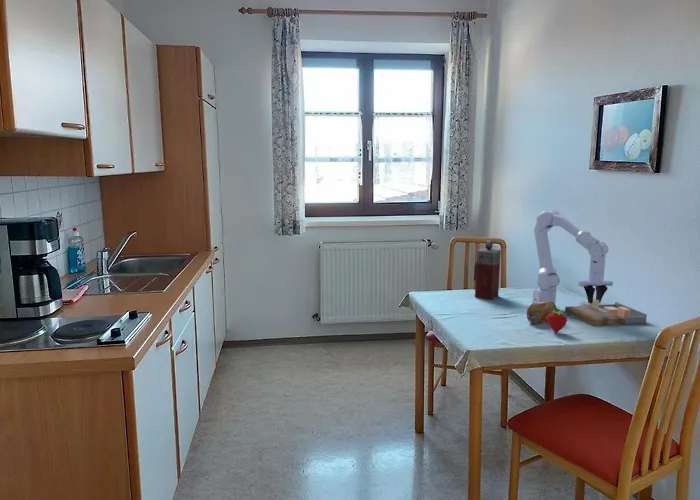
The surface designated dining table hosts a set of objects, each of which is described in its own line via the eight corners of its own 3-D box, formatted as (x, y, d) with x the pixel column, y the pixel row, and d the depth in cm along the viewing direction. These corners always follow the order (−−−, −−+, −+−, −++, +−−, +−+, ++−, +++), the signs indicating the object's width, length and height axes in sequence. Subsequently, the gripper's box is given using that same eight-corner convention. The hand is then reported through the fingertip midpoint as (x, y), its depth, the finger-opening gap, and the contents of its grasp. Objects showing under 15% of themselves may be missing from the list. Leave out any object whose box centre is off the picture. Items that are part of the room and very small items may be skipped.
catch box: (624, 324, 218) (625, 315, 218) (595, 311, 238) (596, 302, 237) (645, 323, 219) (646, 314, 219) (615, 310, 239) (616, 301, 238)
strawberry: (548, 328, 211) (550, 304, 210) (568, 332, 207) (570, 307, 205) (543, 332, 207) (545, 307, 205) (563, 336, 202) (565, 310, 201)
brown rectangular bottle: (476, 292, 270) (479, 238, 265) (498, 296, 263) (501, 240, 259) (470, 296, 262) (472, 240, 258) (492, 299, 256) (495, 242, 252)
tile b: (609, 315, 230) (609, 309, 229) (603, 312, 234) (603, 306, 234) (619, 314, 230) (619, 309, 230) (612, 312, 235) (613, 306, 234)
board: (590, 325, 216) (591, 319, 216) (564, 312, 236) (565, 306, 235) (623, 324, 218) (624, 318, 218) (595, 311, 238) (595, 305, 237)
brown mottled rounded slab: (530, 325, 216) (531, 305, 215) (524, 323, 219) (525, 303, 217) (556, 320, 223) (558, 301, 221) (550, 318, 226) (552, 299, 224)
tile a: (624, 309, 222) (630, 309, 222) (617, 307, 226) (623, 306, 226) (623, 320, 222) (629, 320, 223) (616, 317, 227) (622, 317, 227)
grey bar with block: (601, 318, 218) (602, 304, 217) (578, 307, 235) (579, 294, 234) (608, 317, 219) (609, 304, 218) (584, 306, 235) (585, 294, 234)
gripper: (586, 273, 219) (583, 305, 221) (618, 272, 221) (615, 304, 223) (576, 270, 226) (574, 301, 228) (608, 269, 228) (605, 300, 230)
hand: (594, 302), depth 226 cm, fingers closed on grey bar with block, 3 cm apart
